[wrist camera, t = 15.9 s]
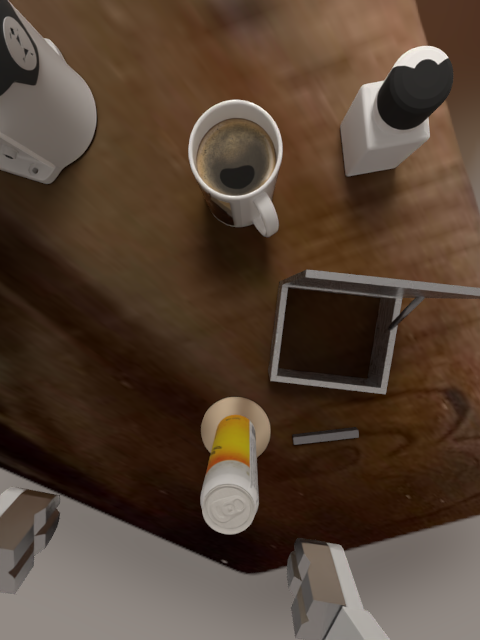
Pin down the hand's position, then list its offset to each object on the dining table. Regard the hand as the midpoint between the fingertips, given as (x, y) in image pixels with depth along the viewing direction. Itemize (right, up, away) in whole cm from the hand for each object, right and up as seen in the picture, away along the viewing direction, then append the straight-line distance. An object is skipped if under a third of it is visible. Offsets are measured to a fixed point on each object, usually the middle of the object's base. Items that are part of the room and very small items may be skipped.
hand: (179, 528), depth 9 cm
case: (+15, +5, +30) cm, 34 cm away
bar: (+15, -11, +32) cm, 37 cm away
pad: (+1, -10, +32) cm, 34 cm away
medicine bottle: (+20, +32, +27) cm, 46 cm away
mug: (+2, +25, +29) cm, 38 cm away
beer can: (+1, -10, +32) cm, 33 cm away
